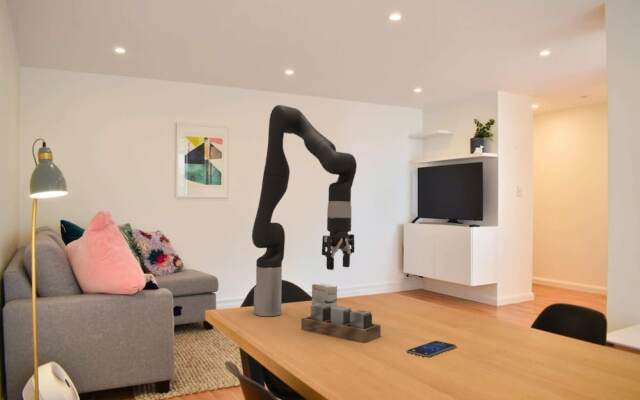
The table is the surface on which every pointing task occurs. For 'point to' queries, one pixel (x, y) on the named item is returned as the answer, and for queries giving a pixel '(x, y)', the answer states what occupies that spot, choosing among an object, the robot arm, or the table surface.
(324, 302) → the ink box
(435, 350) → the smartphone
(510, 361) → the table surface
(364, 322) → the wooden compartment tray
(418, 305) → the table surface
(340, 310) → the grey cube
